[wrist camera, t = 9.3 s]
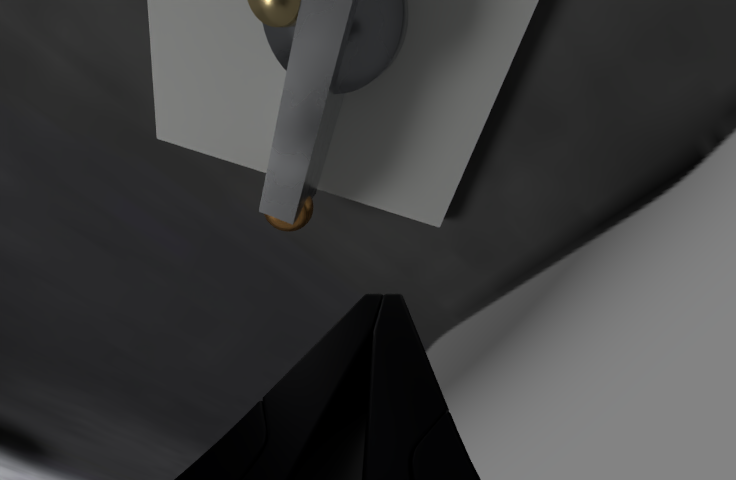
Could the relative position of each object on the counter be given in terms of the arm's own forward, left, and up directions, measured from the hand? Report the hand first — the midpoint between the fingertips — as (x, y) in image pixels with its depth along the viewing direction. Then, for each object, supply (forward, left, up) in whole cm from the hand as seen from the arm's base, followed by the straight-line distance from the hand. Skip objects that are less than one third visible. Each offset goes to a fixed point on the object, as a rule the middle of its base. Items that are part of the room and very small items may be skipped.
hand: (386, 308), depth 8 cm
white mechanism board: (-7, -6, -12) cm, 15 cm away
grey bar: (-4, -5, -11) cm, 12 cm away
